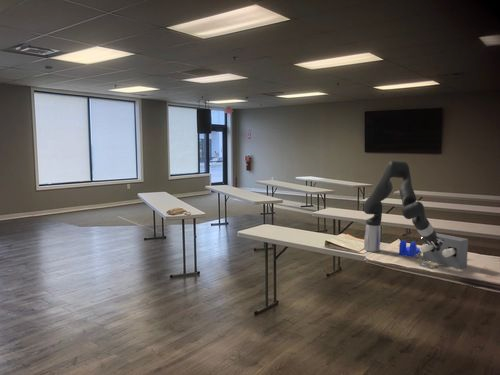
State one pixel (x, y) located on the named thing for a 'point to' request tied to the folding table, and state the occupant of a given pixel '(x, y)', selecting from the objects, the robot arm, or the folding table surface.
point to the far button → (426, 248)
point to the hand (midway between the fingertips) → (438, 249)
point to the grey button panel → (449, 242)
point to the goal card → (428, 265)
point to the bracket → (408, 249)
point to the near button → (449, 252)
